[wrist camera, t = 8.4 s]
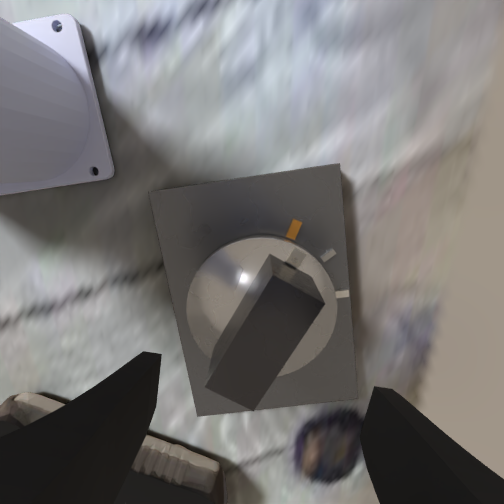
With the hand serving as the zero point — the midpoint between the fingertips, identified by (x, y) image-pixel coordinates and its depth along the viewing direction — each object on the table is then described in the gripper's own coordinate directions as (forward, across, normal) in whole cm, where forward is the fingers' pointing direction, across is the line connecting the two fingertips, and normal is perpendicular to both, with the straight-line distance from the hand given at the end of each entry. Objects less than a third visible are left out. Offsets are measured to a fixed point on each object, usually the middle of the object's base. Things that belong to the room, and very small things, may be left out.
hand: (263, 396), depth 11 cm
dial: (+8, 0, 0) cm, 8 cm away
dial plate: (+9, 0, 0) cm, 9 cm away
